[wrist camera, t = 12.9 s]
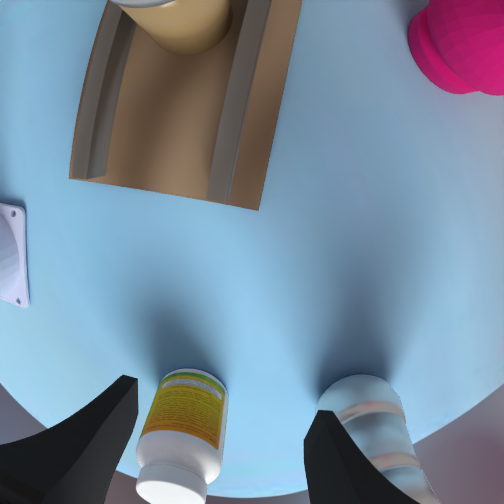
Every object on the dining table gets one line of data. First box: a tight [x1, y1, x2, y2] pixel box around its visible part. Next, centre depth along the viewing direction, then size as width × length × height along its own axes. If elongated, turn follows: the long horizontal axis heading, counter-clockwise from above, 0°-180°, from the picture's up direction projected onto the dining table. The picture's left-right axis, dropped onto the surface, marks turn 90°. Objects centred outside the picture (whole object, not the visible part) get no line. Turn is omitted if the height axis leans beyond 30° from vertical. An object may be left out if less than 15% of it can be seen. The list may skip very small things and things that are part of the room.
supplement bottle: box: [136, 368, 228, 504], centre depth 18 cm, size 5×5×10 cm
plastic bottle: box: [315, 374, 441, 504], centre depth 13 cm, size 6×7×20 cm
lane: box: [69, 0, 302, 211], centre depth 14 cm, size 12×17×4 cm
